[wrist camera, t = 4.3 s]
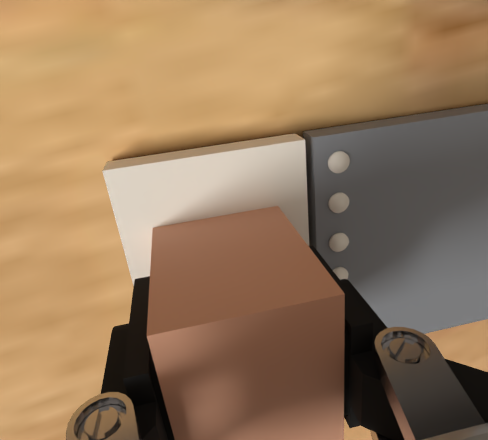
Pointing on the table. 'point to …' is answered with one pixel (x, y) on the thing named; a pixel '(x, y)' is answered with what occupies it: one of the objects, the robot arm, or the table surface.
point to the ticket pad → (405, 213)
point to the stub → (234, 290)
